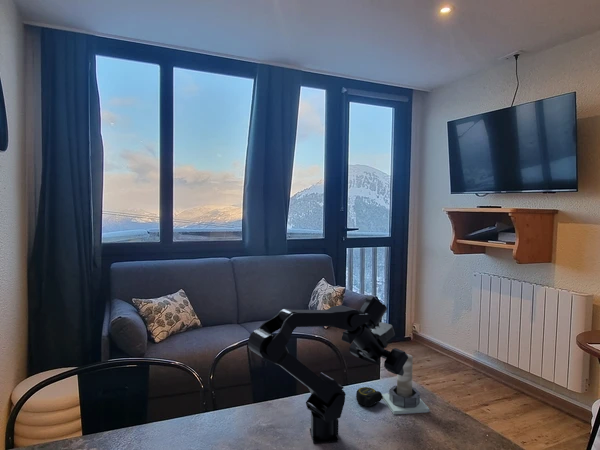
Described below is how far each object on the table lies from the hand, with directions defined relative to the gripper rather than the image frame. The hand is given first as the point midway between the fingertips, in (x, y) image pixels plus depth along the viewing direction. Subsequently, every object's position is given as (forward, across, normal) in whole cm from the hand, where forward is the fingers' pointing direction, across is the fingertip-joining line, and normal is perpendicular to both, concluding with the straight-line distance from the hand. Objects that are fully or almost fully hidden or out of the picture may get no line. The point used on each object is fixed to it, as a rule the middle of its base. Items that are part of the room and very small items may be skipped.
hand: (390, 368), depth 121 cm
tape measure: (+8, +7, +10) cm, 15 cm away
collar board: (+13, 0, +4) cm, 14 cm away
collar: (+13, 0, +4) cm, 14 cm away
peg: (+12, 0, +4) cm, 13 cm away
